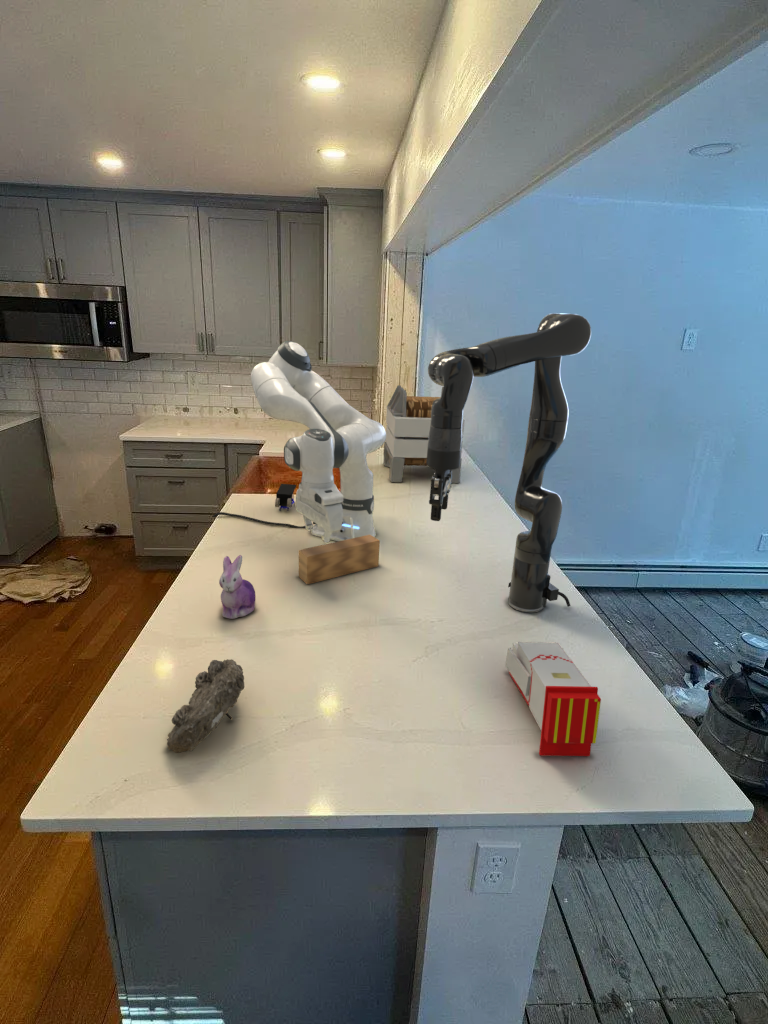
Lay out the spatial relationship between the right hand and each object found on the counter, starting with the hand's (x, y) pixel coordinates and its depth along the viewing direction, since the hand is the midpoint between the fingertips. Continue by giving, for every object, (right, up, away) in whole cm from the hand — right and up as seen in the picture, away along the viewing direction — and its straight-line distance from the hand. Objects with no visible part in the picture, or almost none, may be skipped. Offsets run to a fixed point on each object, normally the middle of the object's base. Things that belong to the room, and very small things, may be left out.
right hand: (439, 514), depth 132 cm
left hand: (-32, -6, +29) cm, 43 cm away
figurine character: (-51, +2, +89) cm, 103 cm away
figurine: (-50, -25, +14) cm, 58 cm away
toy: (+19, -39, -17) cm, 47 cm away
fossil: (-46, -39, -24) cm, 64 cm away
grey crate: (+4, +19, +143) cm, 145 cm away
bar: (-26, -17, +38) cm, 49 cm away
